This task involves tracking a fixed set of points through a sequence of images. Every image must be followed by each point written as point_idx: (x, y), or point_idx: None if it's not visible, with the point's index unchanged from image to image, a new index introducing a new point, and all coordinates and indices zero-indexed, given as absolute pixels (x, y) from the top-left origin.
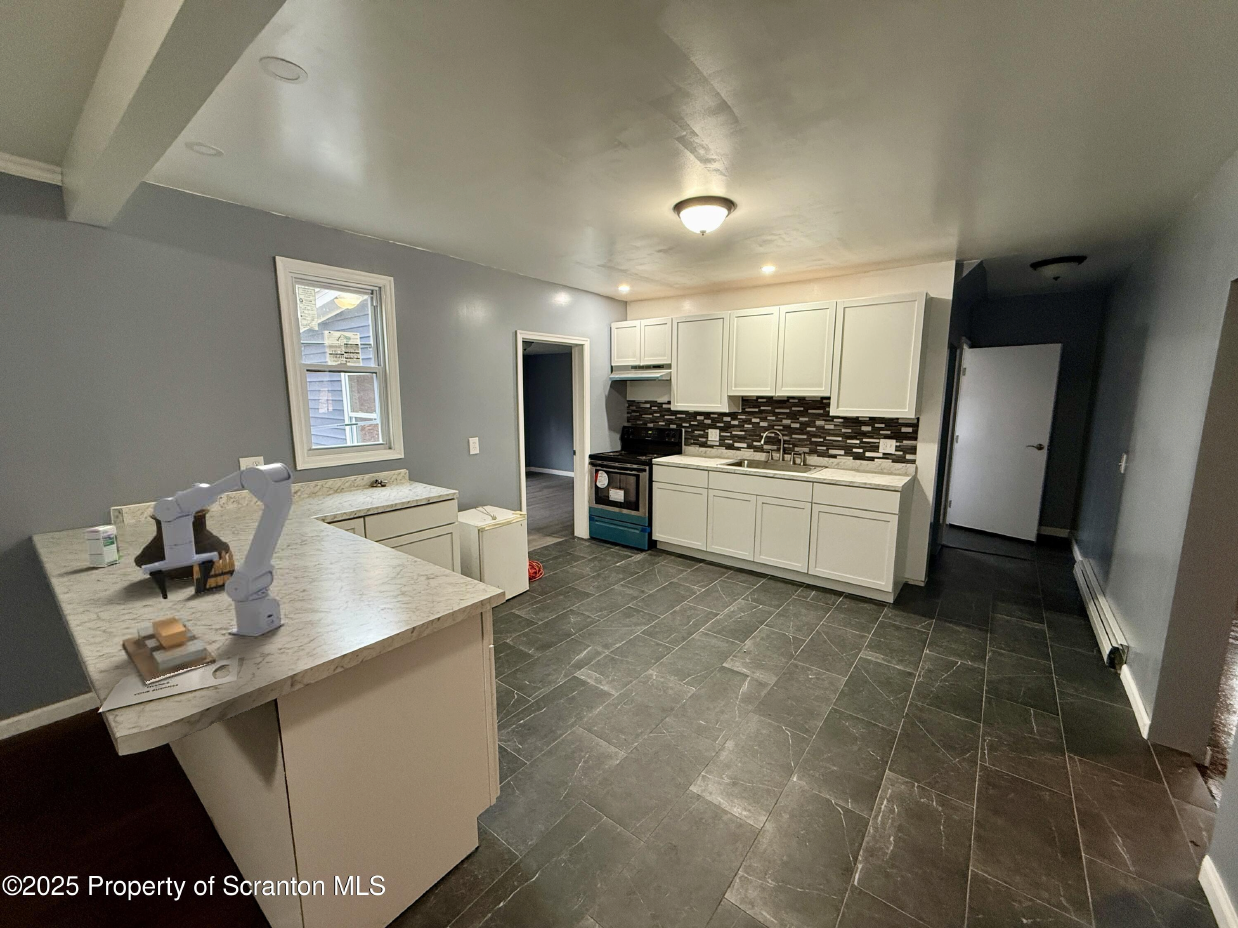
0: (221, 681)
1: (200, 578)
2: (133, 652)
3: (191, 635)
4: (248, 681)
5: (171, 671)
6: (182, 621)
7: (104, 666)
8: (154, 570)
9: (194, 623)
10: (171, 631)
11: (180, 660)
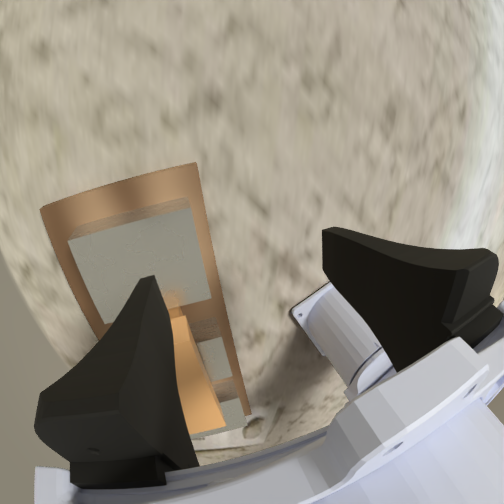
0: (249, 442)
1: (363, 250)
2: (98, 329)
3: (225, 377)
4: (272, 446)
5: None
6: (201, 260)
7: (62, 342)
8: (128, 499)
9: (225, 153)
10: (197, 424)
11: None
